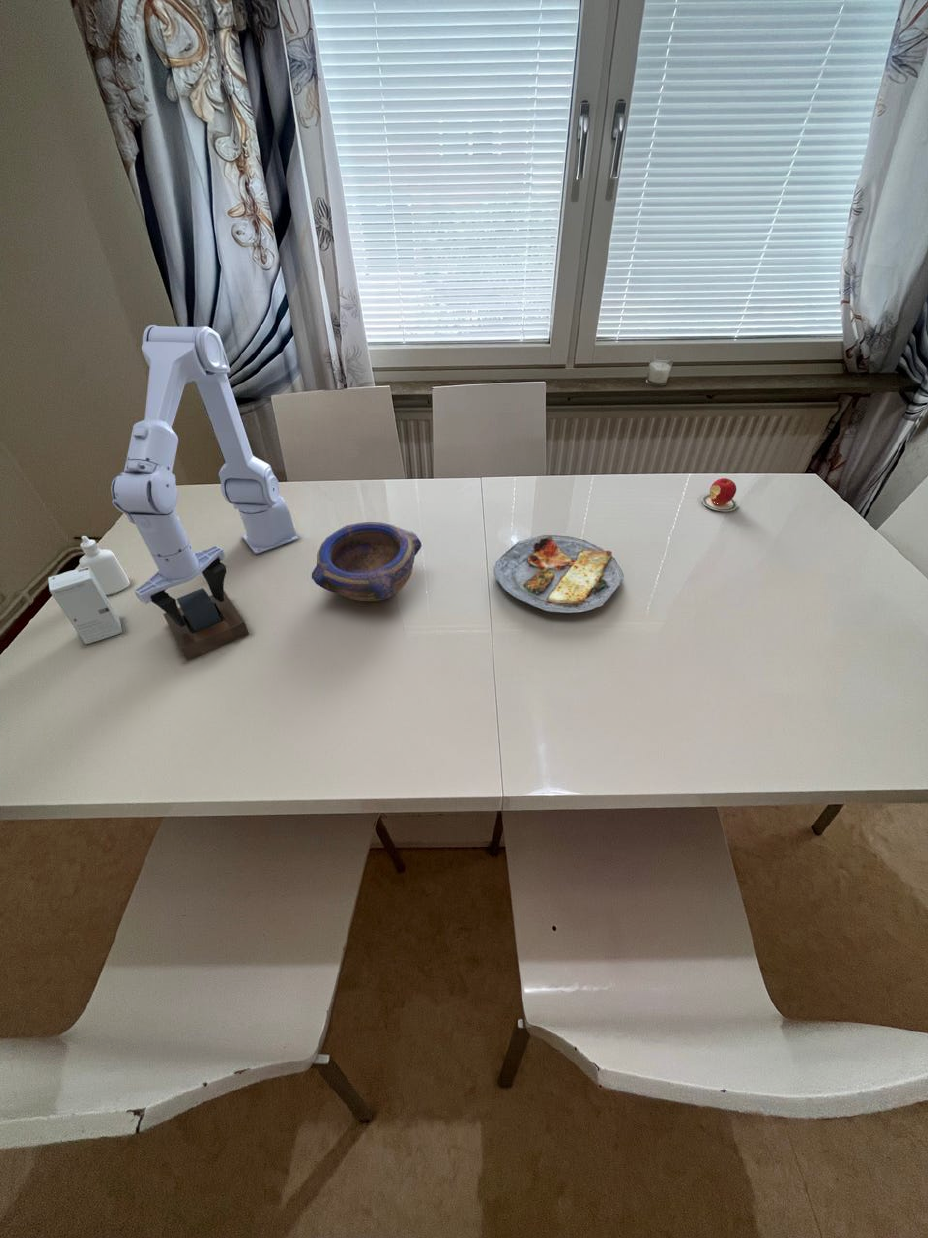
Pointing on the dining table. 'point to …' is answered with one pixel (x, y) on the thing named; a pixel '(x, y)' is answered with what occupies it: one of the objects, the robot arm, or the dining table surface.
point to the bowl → (366, 561)
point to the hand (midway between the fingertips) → (200, 611)
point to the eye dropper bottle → (103, 567)
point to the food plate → (559, 573)
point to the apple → (721, 495)
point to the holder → (209, 630)
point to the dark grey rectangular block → (199, 610)
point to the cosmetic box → (85, 604)
